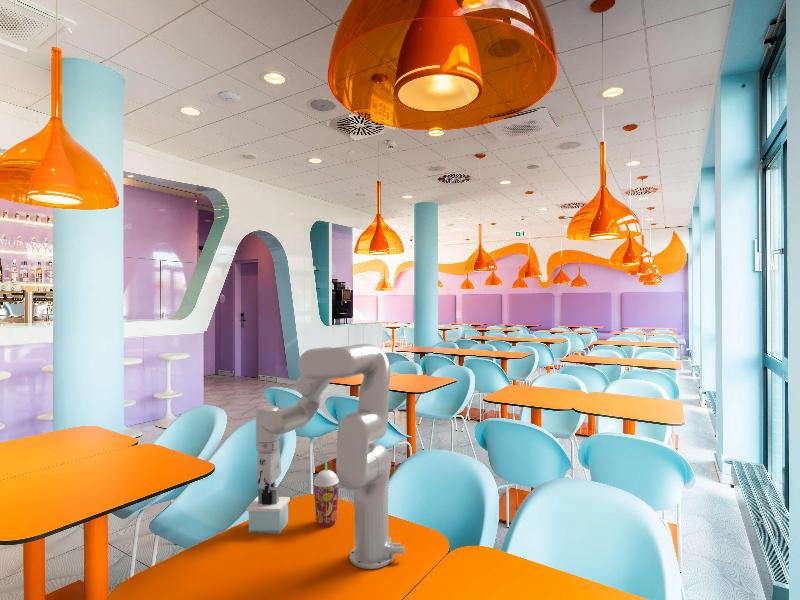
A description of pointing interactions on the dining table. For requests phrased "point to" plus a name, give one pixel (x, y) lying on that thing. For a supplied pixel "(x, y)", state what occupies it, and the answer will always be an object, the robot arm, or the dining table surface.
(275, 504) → the lid
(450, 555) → the dining table surface
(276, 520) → the tub
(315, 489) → the smoothie
